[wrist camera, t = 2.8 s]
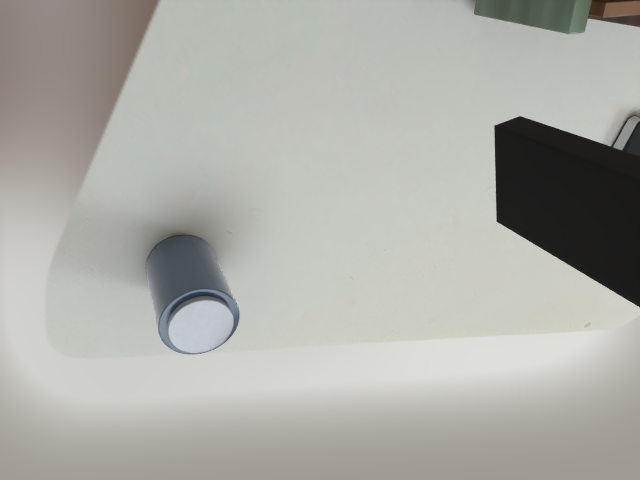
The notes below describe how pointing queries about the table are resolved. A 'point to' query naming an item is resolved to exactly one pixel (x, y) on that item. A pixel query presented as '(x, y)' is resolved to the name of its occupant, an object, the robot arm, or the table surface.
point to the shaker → (190, 295)
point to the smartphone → (630, 137)
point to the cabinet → (621, 19)
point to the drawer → (555, 12)
